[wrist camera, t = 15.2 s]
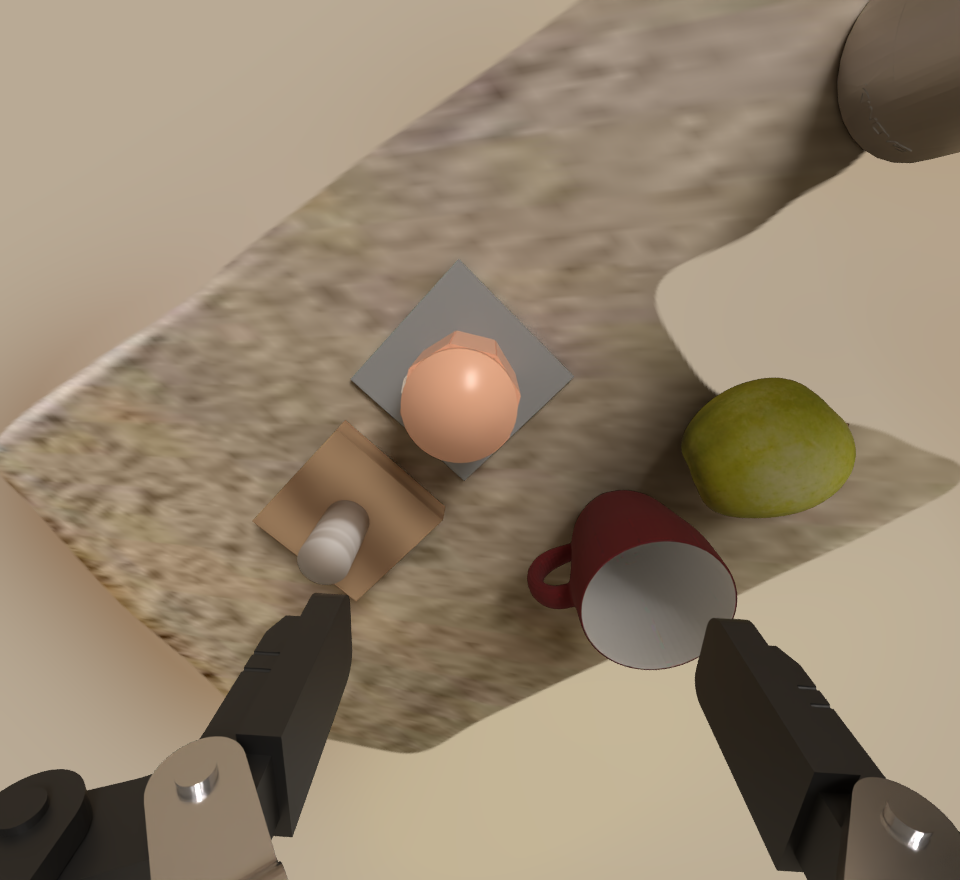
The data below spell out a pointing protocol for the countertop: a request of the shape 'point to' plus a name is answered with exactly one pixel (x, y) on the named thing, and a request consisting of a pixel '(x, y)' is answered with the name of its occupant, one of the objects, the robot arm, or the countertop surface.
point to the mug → (638, 581)
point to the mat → (471, 311)
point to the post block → (350, 513)
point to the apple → (767, 450)
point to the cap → (460, 398)
